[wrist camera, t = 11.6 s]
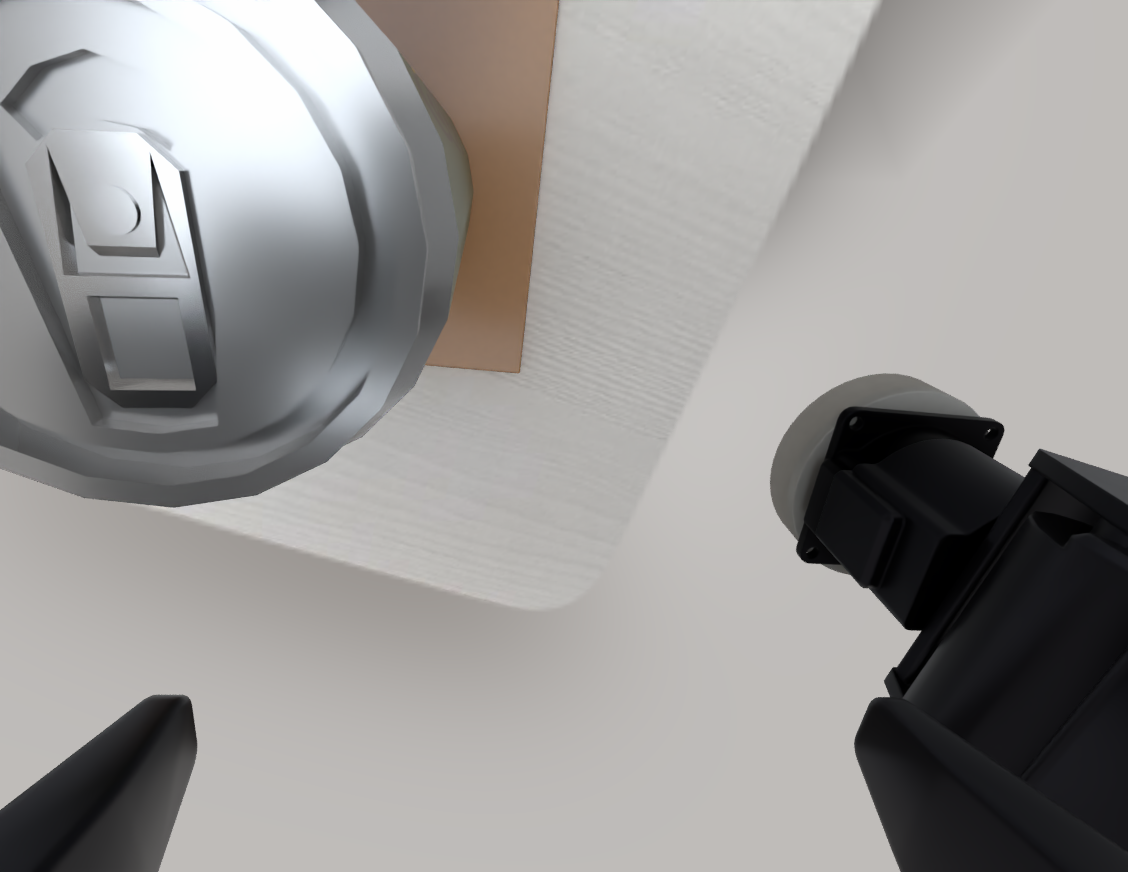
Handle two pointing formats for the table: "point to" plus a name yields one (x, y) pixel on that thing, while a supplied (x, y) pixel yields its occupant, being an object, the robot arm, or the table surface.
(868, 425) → the robot arm
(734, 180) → the table surface
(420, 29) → the cork mat
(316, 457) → the green drink can
